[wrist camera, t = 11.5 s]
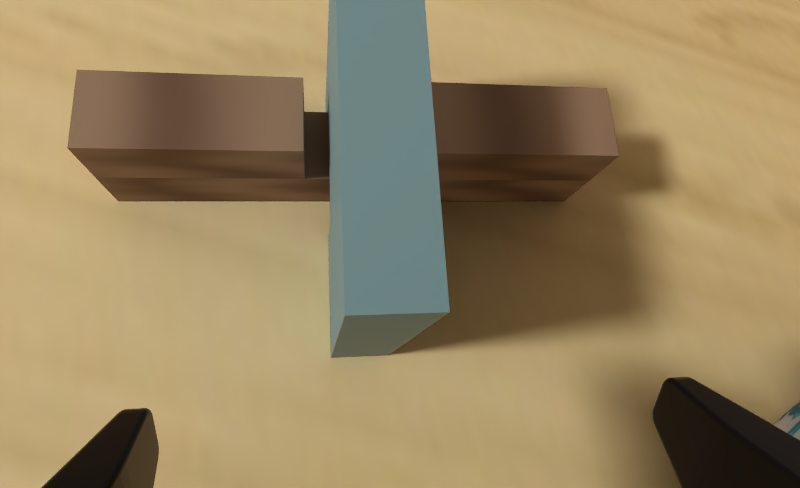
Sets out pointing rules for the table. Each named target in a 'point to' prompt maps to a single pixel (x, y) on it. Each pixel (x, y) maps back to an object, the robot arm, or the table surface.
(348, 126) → the teal slotted plate
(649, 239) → the table surface
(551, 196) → the walnut slotted rail
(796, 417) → the chinaware
